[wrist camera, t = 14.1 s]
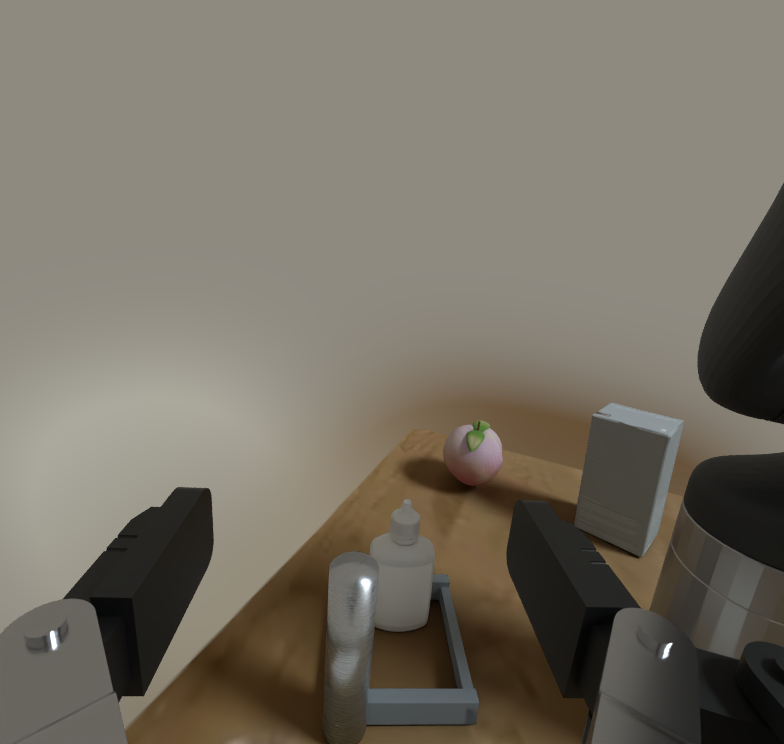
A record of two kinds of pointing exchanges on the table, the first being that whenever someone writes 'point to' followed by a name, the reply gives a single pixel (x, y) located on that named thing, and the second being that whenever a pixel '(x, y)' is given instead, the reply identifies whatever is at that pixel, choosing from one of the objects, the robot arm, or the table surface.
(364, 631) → the pull frame
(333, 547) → the table surface
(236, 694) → the table surface
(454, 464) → the decorative fruit
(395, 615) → the eye dropper bottle
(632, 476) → the skincare box
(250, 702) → the table surface
